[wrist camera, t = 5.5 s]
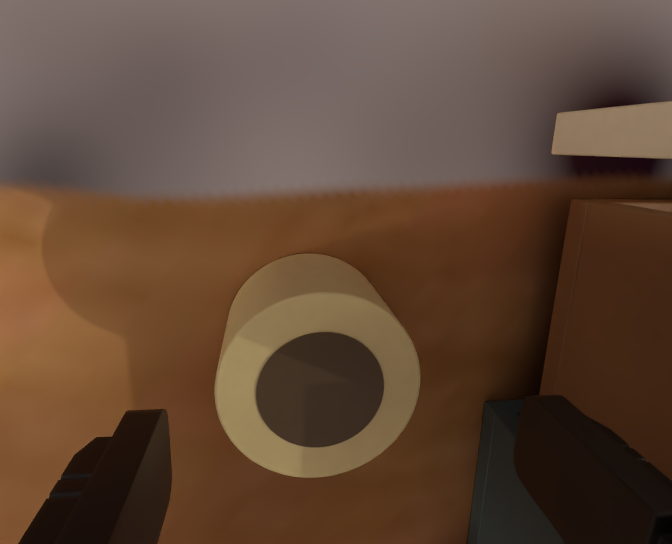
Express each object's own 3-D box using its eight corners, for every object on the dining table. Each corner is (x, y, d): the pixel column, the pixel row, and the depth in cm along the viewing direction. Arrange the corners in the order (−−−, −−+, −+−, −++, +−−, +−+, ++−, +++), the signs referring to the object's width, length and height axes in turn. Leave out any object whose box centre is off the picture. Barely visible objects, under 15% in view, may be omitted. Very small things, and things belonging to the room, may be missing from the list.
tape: (230, 402, 15) (218, 488, 11) (223, 253, 14) (207, 296, 10) (378, 393, 16) (415, 471, 12) (386, 251, 15) (429, 290, 11)
